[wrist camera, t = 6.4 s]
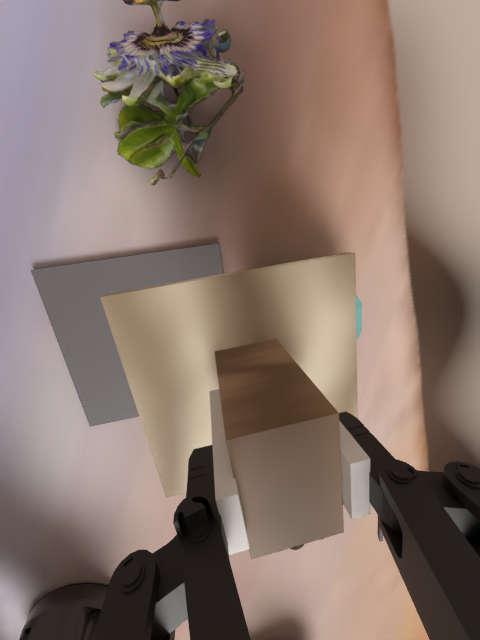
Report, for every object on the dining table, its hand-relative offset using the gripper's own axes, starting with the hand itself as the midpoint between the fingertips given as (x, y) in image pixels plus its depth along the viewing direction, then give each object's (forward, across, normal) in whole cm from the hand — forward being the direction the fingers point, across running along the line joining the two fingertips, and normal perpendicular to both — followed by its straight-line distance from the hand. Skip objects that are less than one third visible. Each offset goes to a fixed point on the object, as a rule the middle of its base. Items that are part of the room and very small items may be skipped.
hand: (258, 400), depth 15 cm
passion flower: (+18, +2, -22) cm, 28 cm away
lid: (+3, 0, 0) cm, 3 cm away
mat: (+17, +10, 0) cm, 20 cm away
